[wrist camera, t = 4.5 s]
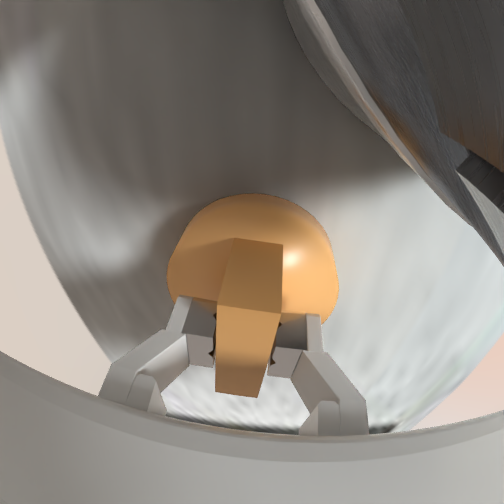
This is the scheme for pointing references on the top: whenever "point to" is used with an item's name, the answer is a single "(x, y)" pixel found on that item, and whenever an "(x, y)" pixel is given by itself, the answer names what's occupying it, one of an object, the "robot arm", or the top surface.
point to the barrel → (422, 89)
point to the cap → (253, 278)
